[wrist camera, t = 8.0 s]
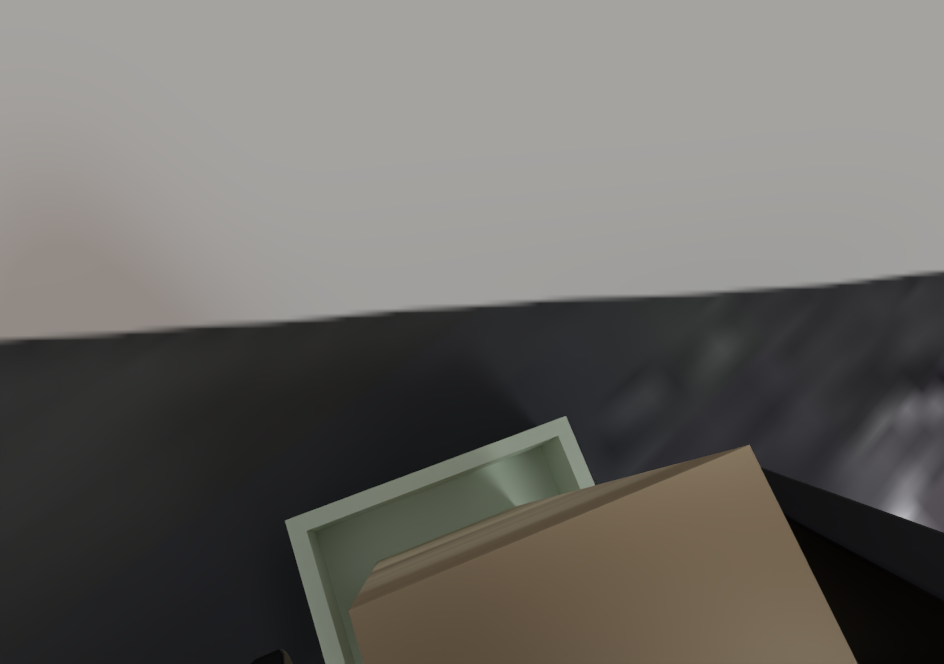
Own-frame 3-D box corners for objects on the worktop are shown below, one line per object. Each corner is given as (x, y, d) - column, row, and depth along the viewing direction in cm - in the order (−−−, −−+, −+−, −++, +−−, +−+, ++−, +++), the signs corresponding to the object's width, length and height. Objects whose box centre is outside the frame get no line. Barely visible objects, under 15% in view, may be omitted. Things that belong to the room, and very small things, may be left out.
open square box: (647, 689, 17) (691, 715, 14) (386, 818, 15) (385, 872, 13) (543, 431, 19) (566, 416, 16) (300, 523, 17) (284, 520, 15)
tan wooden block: (572, 654, 16) (981, 914, 5) (428, 721, 15) (530, 1222, 4) (516, 506, 17) (749, 444, 6) (378, 561, 16) (348, 610, 5)
